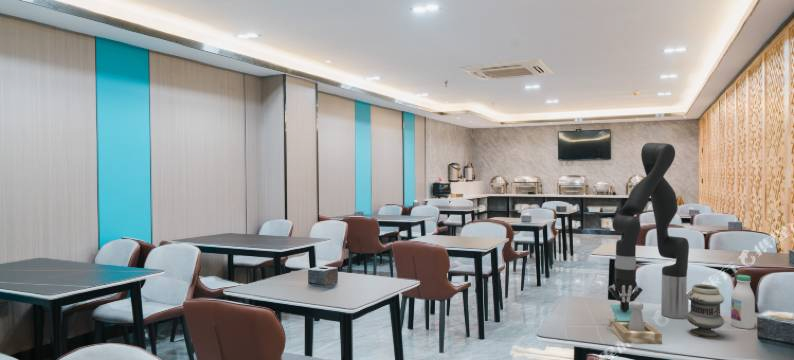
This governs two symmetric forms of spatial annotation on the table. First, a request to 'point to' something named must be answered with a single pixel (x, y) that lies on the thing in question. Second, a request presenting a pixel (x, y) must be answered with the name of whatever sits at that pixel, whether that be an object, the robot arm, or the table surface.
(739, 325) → the milk bottle
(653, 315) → the table surface
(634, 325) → the salt shaker
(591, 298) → the table surface
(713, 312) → the apothecary jar
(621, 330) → the socket block
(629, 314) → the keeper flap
